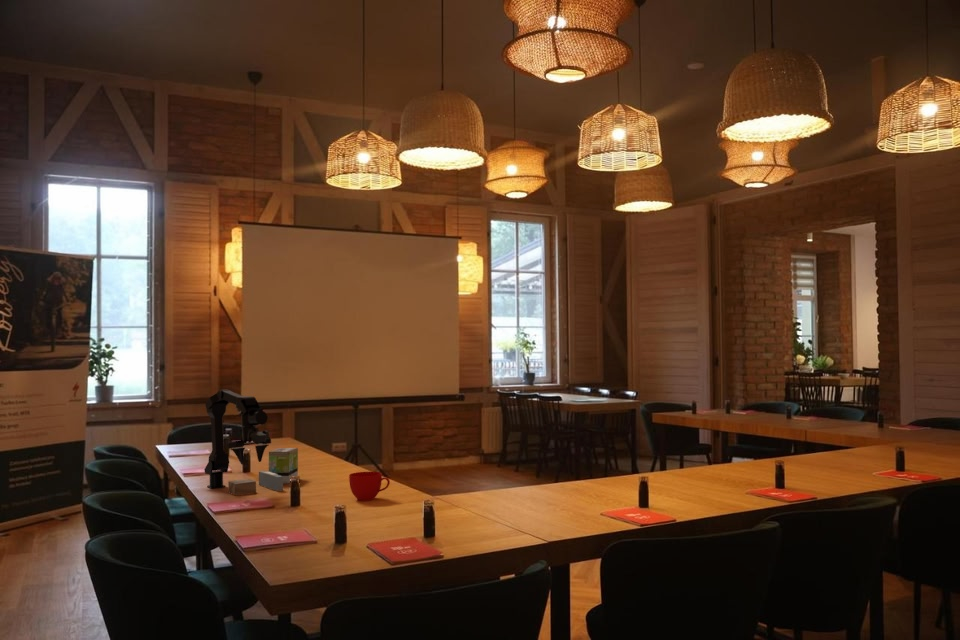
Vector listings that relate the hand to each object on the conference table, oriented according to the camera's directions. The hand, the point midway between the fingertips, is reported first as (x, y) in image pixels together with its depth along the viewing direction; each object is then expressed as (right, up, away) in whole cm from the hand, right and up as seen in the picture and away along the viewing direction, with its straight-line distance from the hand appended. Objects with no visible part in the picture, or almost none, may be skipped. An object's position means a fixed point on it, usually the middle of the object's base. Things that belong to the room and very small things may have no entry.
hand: (251, 463), depth 323 cm
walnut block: (-5, -13, +3) cm, 14 cm away
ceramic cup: (+53, -11, -20) cm, 58 cm away
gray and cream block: (+5, -13, +13) cm, 19 cm away
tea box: (+6, -14, +30) cm, 34 cm away
